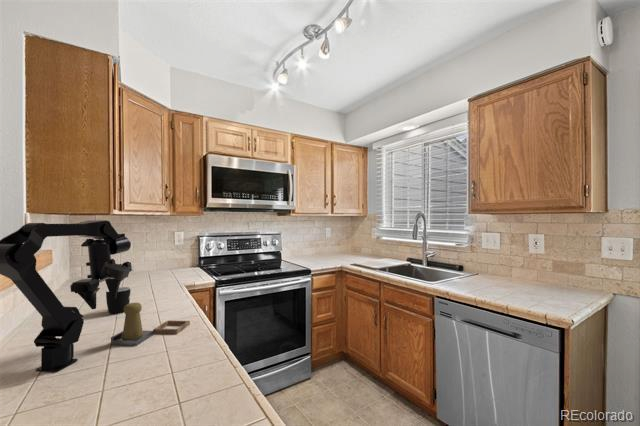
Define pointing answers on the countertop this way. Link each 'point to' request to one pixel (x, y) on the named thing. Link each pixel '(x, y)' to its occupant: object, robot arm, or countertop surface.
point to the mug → (118, 300)
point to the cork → (132, 321)
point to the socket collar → (171, 331)
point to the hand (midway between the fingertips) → (104, 303)
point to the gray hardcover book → (119, 340)
